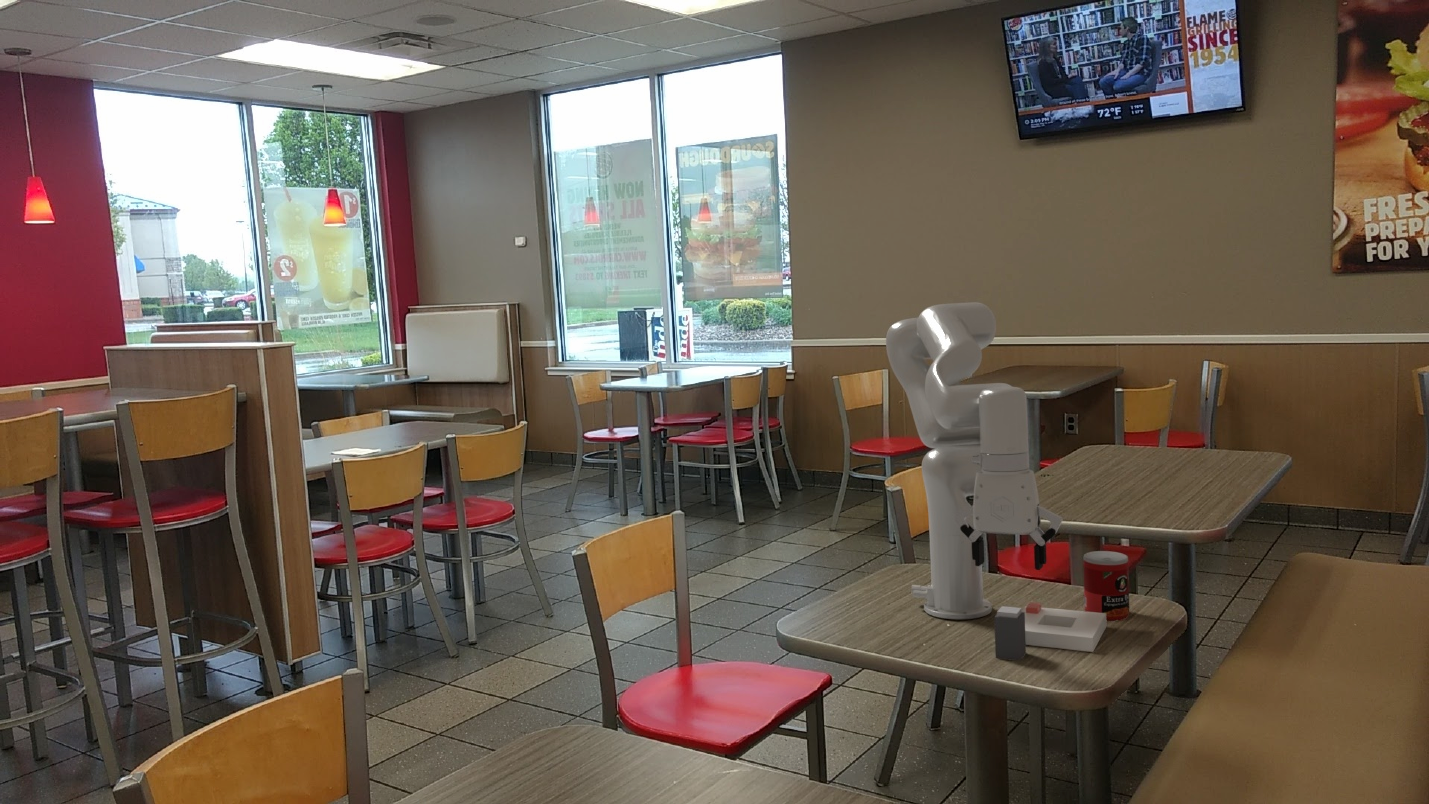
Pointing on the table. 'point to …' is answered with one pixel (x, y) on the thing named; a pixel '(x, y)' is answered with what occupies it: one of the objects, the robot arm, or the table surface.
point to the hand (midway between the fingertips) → (1009, 566)
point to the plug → (1010, 633)
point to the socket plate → (1063, 628)
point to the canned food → (1106, 584)
